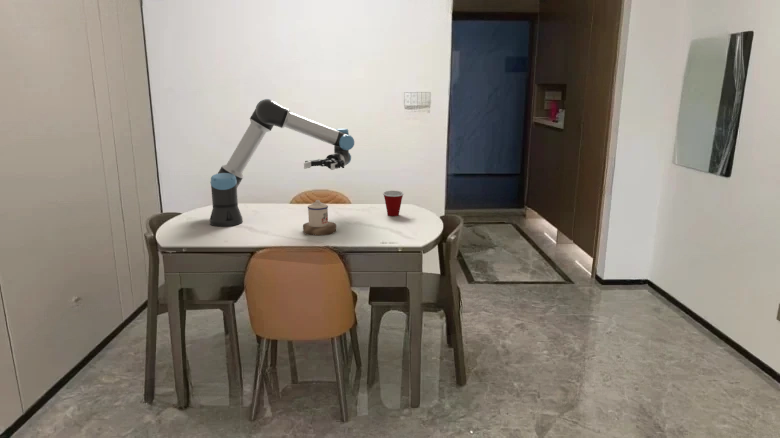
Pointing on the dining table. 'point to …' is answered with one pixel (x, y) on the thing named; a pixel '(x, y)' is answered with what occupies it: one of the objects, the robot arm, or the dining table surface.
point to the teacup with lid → (318, 214)
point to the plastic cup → (393, 202)
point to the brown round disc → (319, 229)
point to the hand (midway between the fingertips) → (318, 166)
